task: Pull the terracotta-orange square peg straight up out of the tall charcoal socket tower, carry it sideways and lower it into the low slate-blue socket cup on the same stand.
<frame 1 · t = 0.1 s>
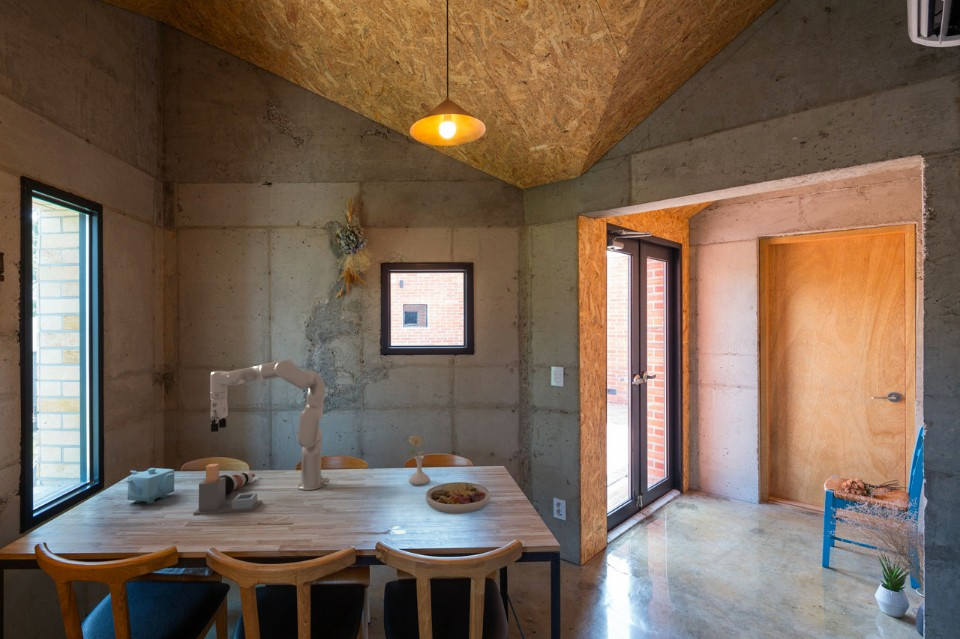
hand: (218, 429, 231), 31 cm above the table, tool pointing down, fingers open, 9 cm apart
bowl: (458, 503, 213), on the table
socket stand: (228, 508, 208), on the table
teakettle: (149, 500, 219), on the table
flower in vase: (418, 483, 241), on the table
cable: (233, 491, 231), on the table
peg: (212, 487, 207), point 10 cm above the table, touching socket stand
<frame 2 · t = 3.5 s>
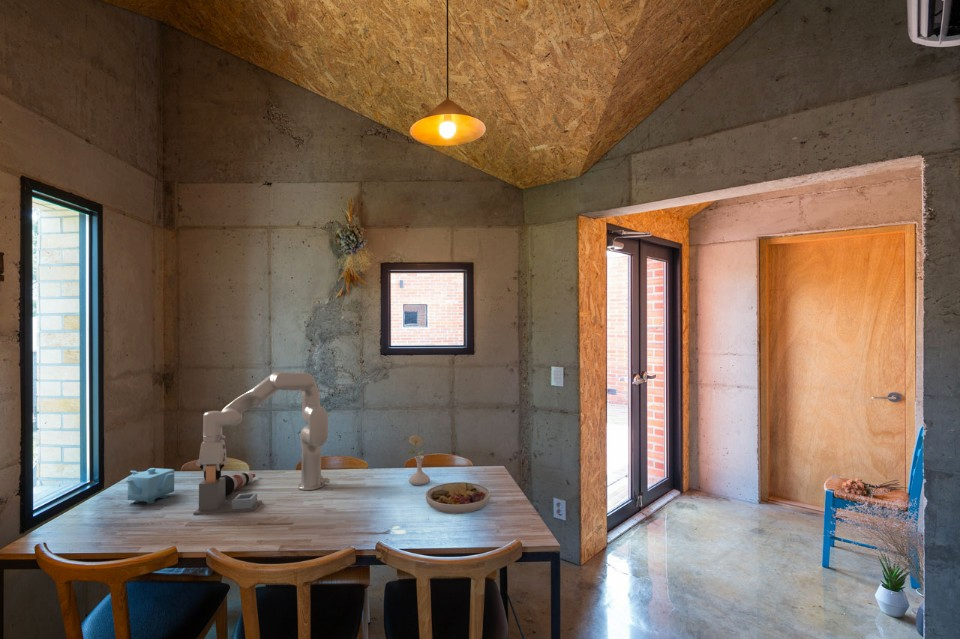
hand: (212, 478, 207), 14 cm above the table, tool pointing down, fingers closed on peg, 4 cm apart
peg: (212, 487, 207), point 10 cm above the table, touching gripper, socket stand
everything else where it was.
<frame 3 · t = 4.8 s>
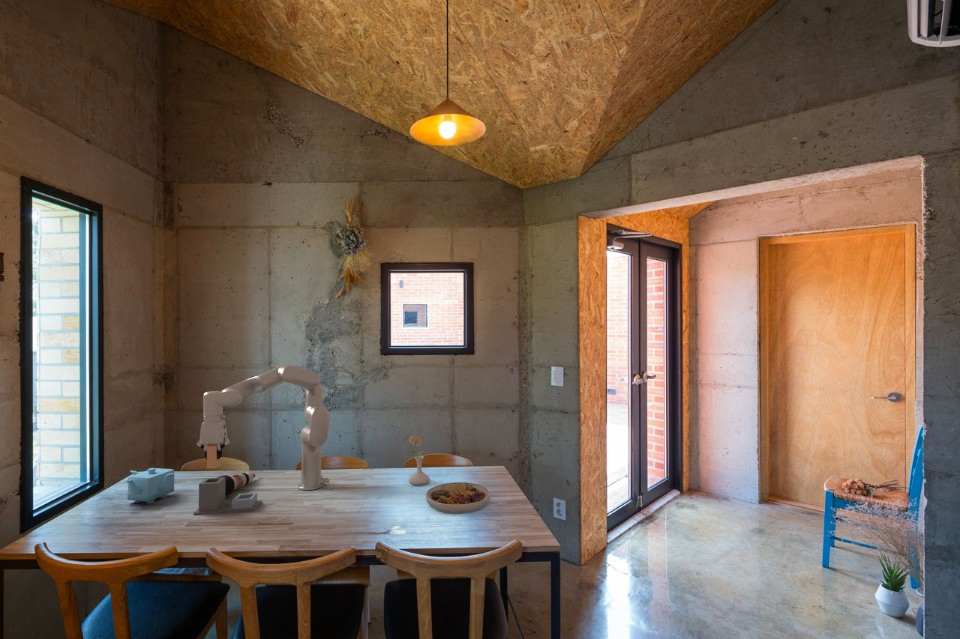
hand: (213, 458, 208), 23 cm above the table, tool pointing down, fingers closed on peg, 4 cm apart
peg: (213, 466, 208), point 19 cm above the table, touching gripper
everything else where it was.
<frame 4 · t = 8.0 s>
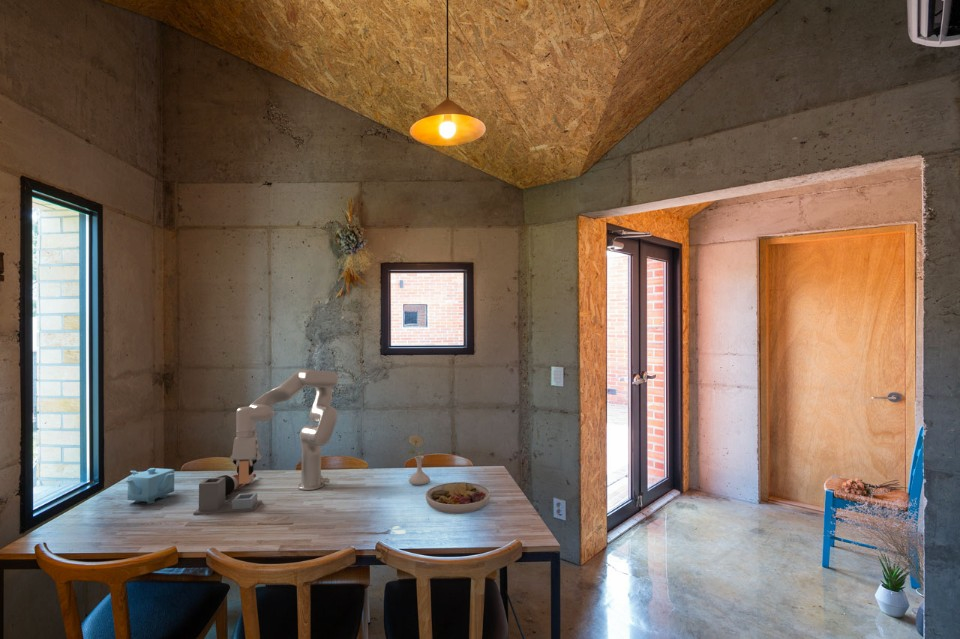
hand: (245, 473, 210), 15 cm above the table, tool pointing down, fingers closed on peg, 4 cm apart
peg: (245, 482, 209), point 12 cm above the table, touching gripper
everything else where it was.
when the fingers open (6 cm above the table, at t = 10.4 s): peg drops 1 cm, resting on socket stand.
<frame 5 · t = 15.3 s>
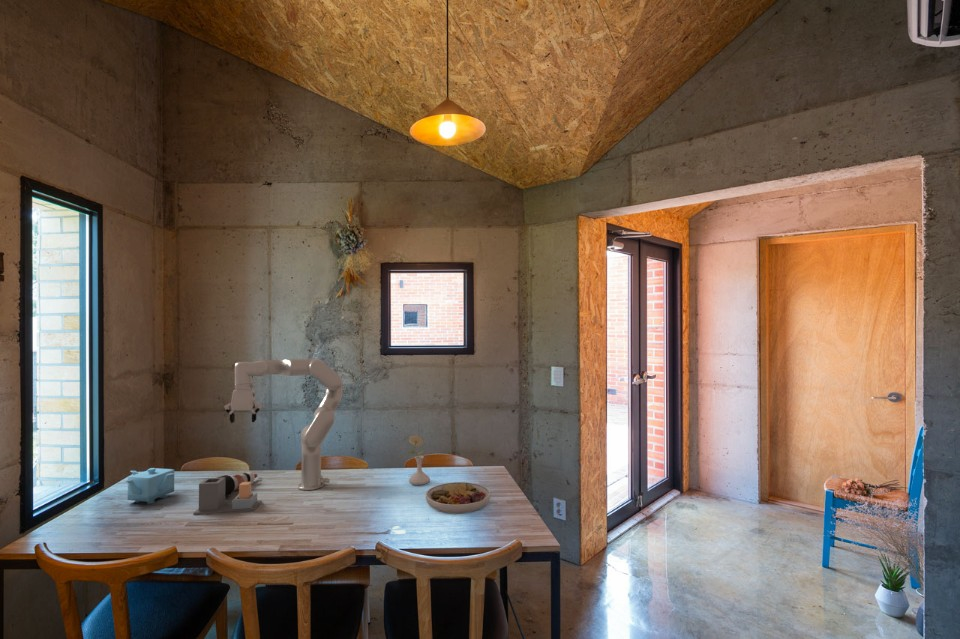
hand: (243, 422, 224), 36 cm above the table, tool pointing down, fingers open, 9 cm apart
peg: (245, 505, 209), point 1 cm above the table, touching socket stand
everything else where it was.
at the end: peg 0.0 cm from the target spot on the socket stand, point 1.0 cm above the socket stand's base; peg tilted 0°; the gripper is holding nothing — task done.
